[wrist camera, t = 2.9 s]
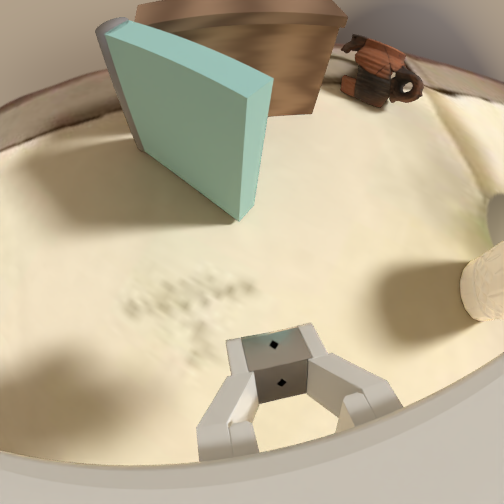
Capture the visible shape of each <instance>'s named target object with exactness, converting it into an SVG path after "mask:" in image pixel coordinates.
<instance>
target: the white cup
mask: <svg viewBox="0 0 504 504" xmlns="http://www.w3.org/2000/svg"><path fill="white" fill-rule="evenodd" d="M460 293H461V298H462V301H463V304H464V307H465V310H466V311H467V312H468V313H469V314H470V316H471V317H472V318H473V319H476V320H478V321H481V322H484V321H490V320H496V319H504V241H502V242H500V243H499V244H497V245H496V246H494V247H493V248H491V249H489V250H488V251H486V252H485V253H484V254H482V255H481V256H479V257H477V258H475V259H474V260H472V261H470V262H469V263H468V264H467V266H466V267H465V268H464V269H463V272H462V276H461V280H460Z"/></svg>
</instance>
